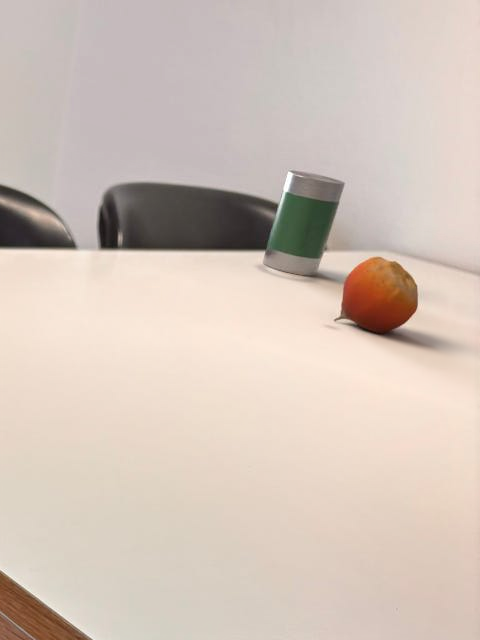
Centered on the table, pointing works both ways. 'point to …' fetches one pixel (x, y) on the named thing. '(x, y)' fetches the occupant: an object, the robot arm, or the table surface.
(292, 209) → the tin can
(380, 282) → the fruit
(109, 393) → the table surface
